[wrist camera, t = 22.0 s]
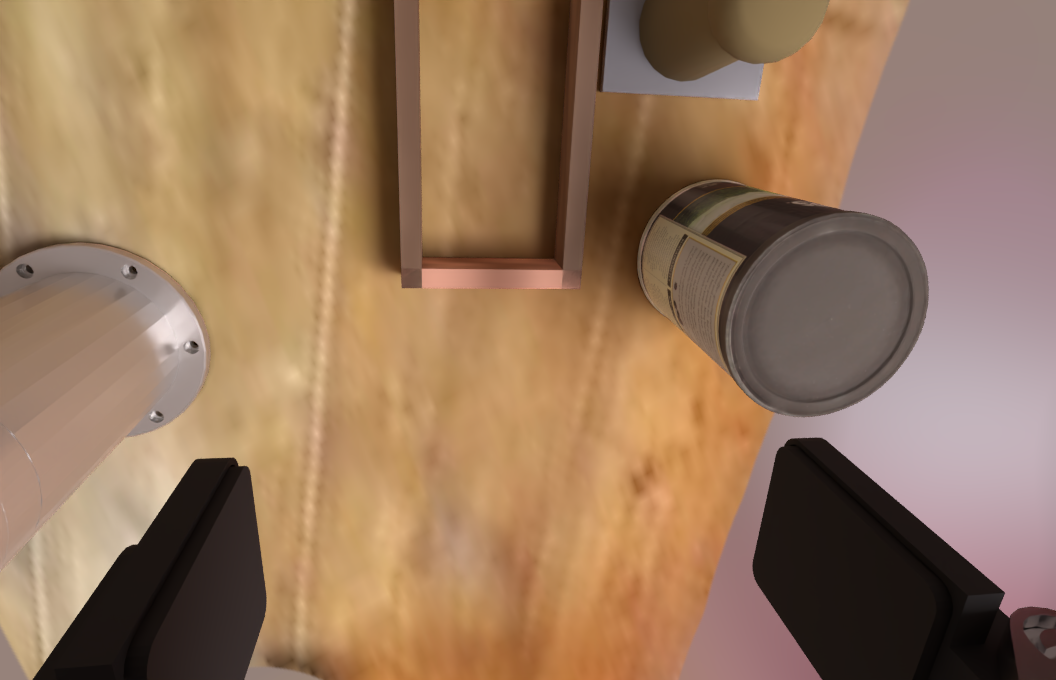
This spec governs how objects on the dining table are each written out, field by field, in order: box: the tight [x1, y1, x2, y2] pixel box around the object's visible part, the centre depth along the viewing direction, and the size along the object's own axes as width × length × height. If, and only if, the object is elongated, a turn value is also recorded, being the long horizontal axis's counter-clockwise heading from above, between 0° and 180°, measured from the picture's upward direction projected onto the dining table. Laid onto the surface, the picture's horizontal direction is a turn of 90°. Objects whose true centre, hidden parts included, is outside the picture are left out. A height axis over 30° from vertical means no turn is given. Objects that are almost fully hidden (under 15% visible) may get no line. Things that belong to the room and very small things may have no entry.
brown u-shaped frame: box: [394, 0, 603, 289], centre depth 36 cm, size 11×18×3 cm, turn 177°
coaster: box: [600, 0, 764, 100], centre depth 36 cm, size 10×10×1 cm
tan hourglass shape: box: [639, 0, 829, 82], centre depth 31 cm, size 6×6×11 cm
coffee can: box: [637, 179, 928, 417], centre depth 36 cm, size 10×10×14 cm
